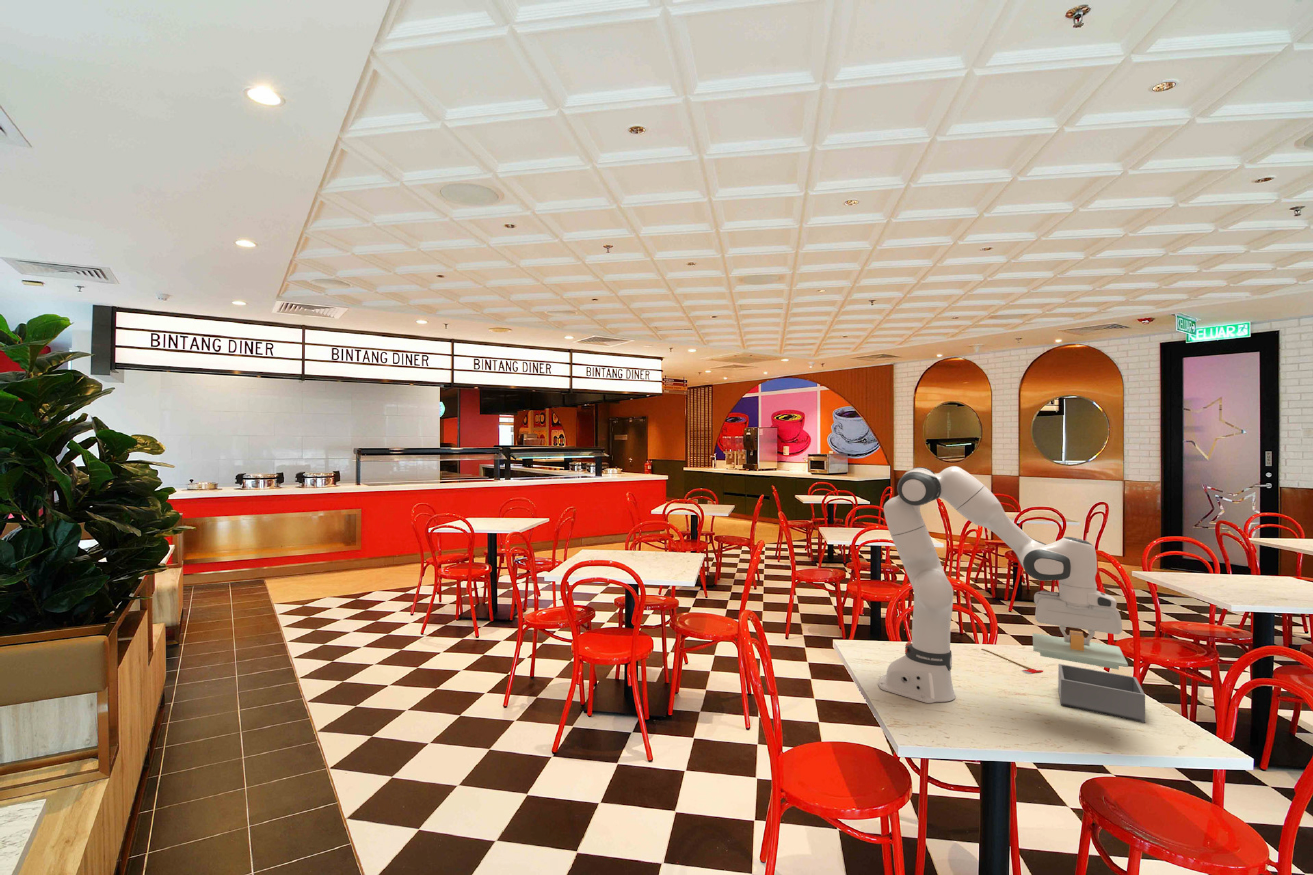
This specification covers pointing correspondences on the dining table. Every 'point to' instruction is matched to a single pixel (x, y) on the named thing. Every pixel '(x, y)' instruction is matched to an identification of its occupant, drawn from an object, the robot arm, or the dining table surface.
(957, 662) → the dining table surface
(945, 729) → the dining table surface
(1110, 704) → the tub
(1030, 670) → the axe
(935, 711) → the dining table surface
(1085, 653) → the lid
